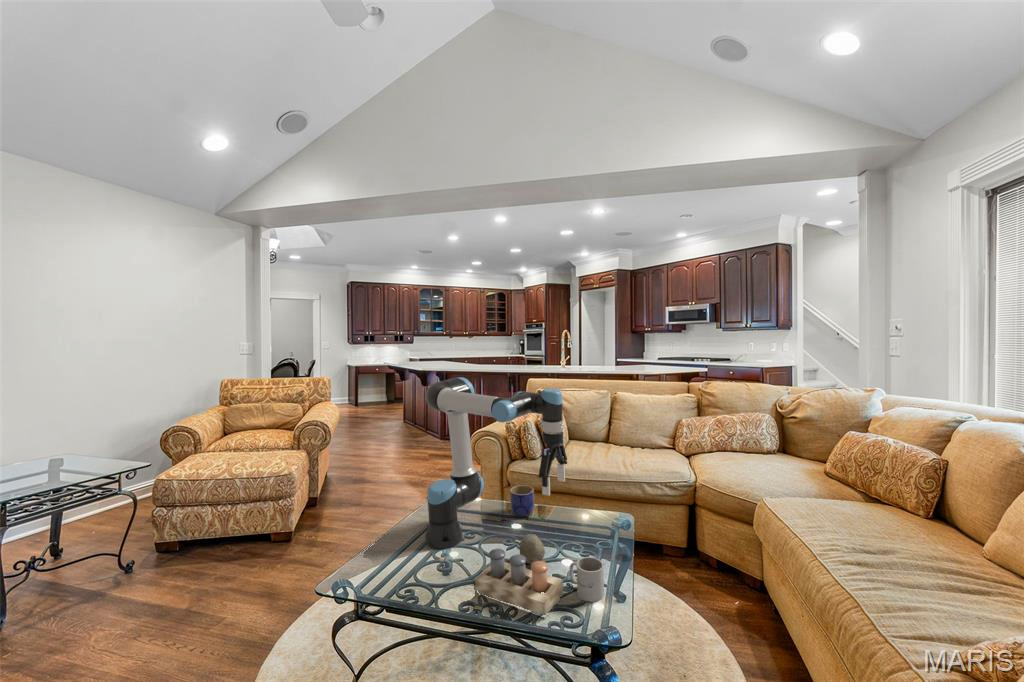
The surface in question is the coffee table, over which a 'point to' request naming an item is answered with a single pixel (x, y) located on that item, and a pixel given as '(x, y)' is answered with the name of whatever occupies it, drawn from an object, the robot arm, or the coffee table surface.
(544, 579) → the terracotta plug
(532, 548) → the decorative stone
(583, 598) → the mug
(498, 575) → the slate plug
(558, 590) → the block
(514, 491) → the planter
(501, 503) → the coffee table surface
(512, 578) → the slate plug
